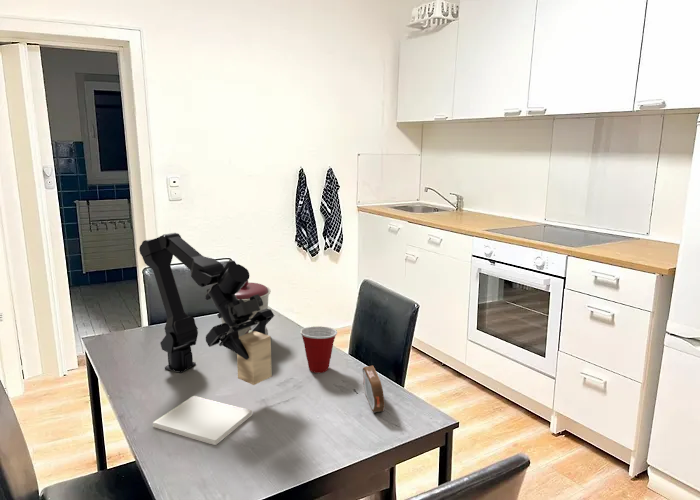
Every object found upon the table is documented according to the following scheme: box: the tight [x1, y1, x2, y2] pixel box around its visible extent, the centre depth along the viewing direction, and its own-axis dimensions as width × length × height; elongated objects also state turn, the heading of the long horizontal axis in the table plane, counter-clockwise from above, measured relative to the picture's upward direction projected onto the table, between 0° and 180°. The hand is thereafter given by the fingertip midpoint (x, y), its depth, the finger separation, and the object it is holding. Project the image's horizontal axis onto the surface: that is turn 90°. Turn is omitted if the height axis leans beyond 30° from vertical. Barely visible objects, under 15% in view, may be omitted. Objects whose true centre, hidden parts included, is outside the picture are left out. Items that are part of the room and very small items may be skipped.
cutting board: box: [152, 395, 253, 446], centre depth 122 cm, size 18×14×1 cm
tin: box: [362, 365, 385, 413], centre depth 130 cm, size 15×3×8 cm, turn 9°
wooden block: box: [236, 331, 273, 386], centre depth 129 cm, size 6×6×11 cm
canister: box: [220, 280, 271, 336], centre depth 171 cm, size 18×18×21 cm
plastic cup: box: [299, 325, 338, 374], centre depth 149 cm, size 11×11×12 cm
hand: (257, 354), depth 128 cm, fingers closed on wooden block, 6 cm apart
